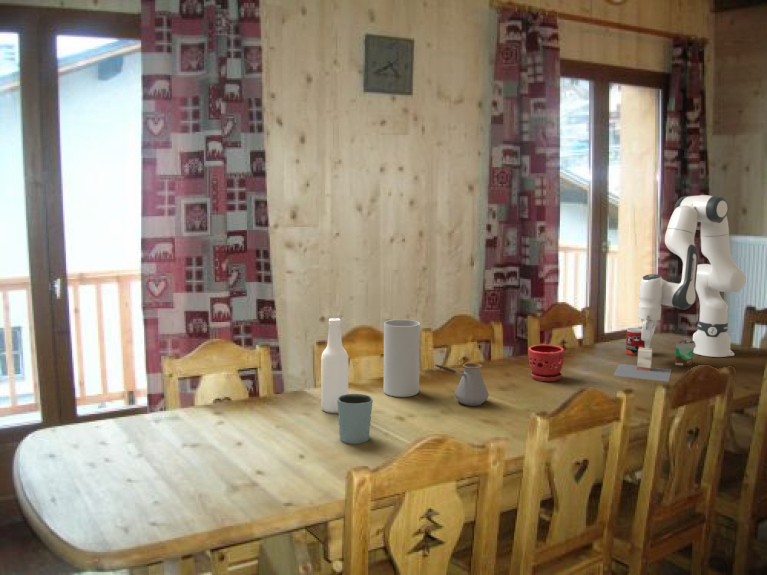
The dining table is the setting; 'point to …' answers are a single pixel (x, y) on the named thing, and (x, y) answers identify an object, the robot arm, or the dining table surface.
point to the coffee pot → (469, 385)
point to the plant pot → (546, 362)
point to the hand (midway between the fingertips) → (647, 347)
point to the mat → (643, 373)
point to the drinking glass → (354, 417)
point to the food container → (684, 352)
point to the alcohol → (333, 369)
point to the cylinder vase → (401, 357)
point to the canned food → (634, 341)
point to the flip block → (644, 359)
